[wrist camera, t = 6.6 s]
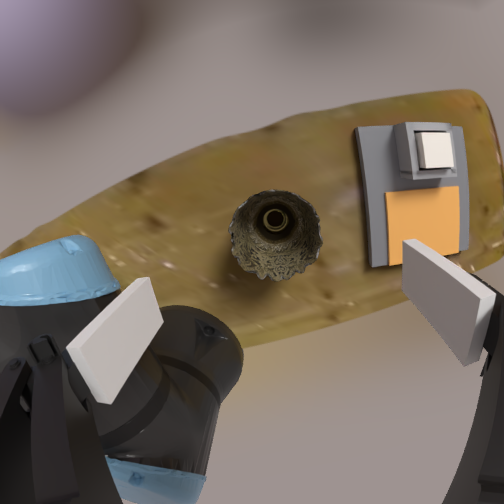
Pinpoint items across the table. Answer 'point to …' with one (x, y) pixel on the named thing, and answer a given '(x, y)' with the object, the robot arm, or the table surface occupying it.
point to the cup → (275, 235)
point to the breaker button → (434, 150)
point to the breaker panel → (412, 192)
